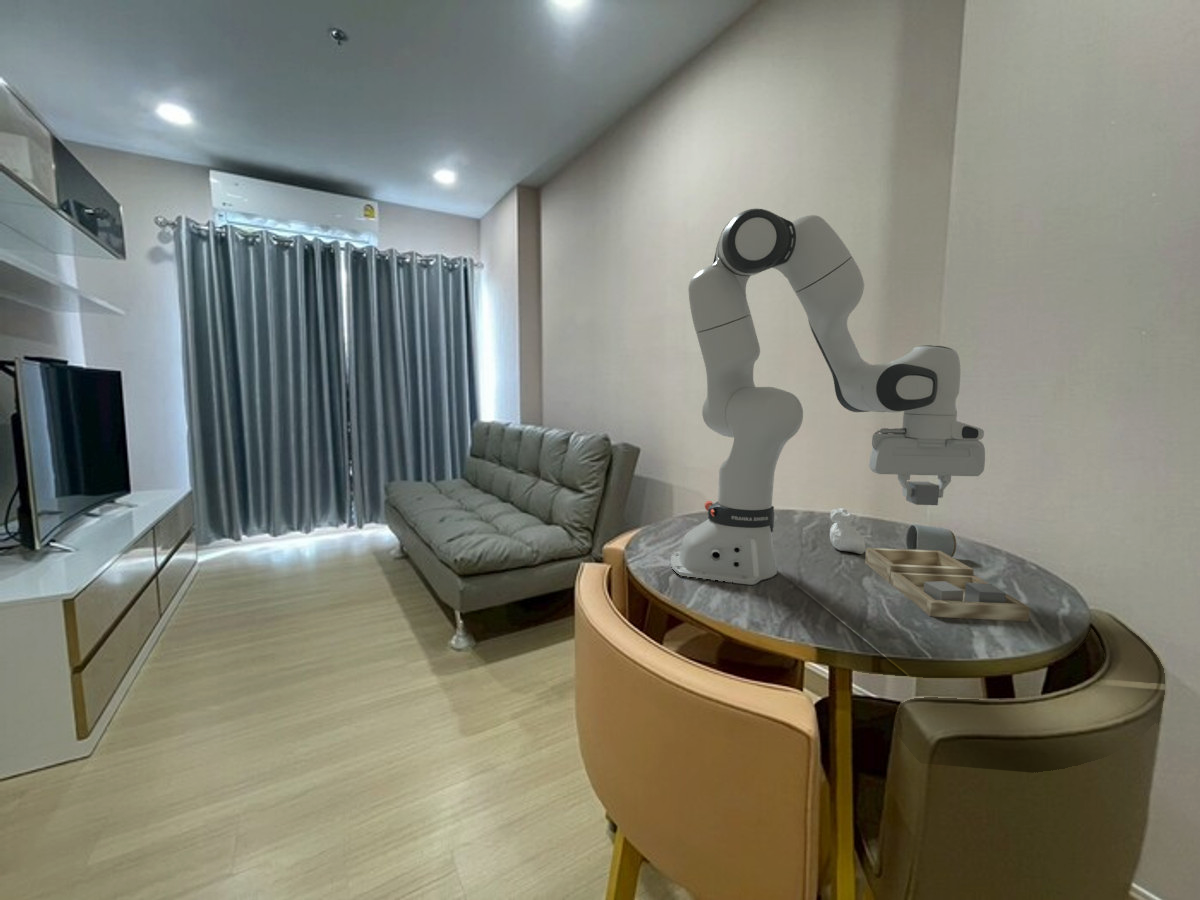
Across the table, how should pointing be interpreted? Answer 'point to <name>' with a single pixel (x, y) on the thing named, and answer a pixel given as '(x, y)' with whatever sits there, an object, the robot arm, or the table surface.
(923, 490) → the stone mid
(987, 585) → the stone right
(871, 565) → the tray
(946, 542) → the ceramic mug
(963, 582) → the tray
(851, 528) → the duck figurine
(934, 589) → the block
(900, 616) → the table surface
